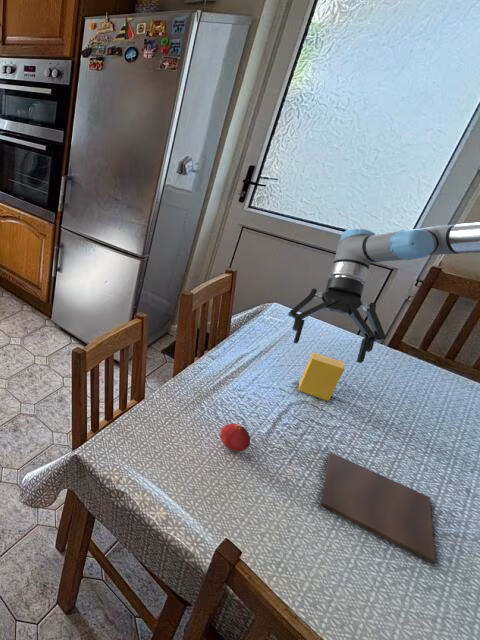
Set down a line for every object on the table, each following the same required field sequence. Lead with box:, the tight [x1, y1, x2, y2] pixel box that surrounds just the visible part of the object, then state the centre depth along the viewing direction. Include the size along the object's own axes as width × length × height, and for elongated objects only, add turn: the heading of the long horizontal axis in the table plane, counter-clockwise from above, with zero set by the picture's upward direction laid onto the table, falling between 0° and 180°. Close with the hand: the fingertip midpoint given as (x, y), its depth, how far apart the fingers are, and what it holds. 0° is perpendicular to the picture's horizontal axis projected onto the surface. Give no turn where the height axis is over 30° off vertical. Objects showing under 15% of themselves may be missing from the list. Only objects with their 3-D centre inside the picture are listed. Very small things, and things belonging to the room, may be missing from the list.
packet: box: [298, 352, 345, 402], centre depth 109 cm, size 6×4×11 cm, turn 52°
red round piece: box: [219, 423, 251, 452], centre depth 95 cm, size 6×6×8 cm
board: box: [320, 452, 436, 564], centre depth 84 cm, size 16×16×1 cm
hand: (326, 351), depth 111 cm, fingers open, 13 cm apart
